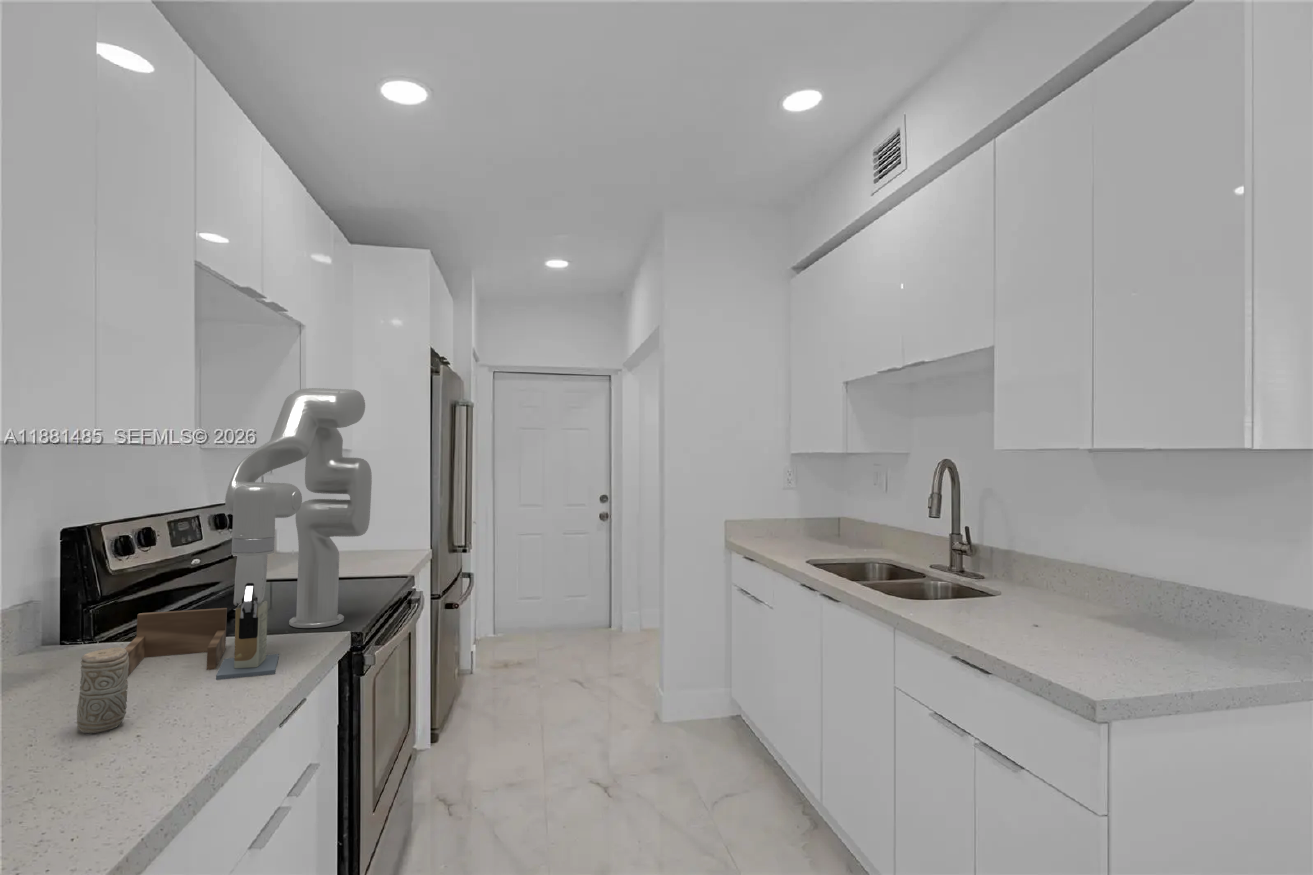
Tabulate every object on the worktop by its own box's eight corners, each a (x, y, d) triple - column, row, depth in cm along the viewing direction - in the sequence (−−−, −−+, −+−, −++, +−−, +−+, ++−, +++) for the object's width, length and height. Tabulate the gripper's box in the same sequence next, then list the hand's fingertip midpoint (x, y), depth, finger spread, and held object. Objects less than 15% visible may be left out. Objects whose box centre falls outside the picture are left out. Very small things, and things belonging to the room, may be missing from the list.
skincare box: (243, 659, 145) (245, 600, 146) (266, 658, 146) (268, 599, 147) (232, 669, 139) (234, 607, 139) (257, 668, 140) (258, 606, 140)
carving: (80, 740, 106) (83, 660, 107) (71, 726, 112) (74, 650, 112) (131, 728, 111) (134, 652, 111) (121, 716, 116) (124, 643, 117)
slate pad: (224, 662, 146) (224, 658, 146) (278, 657, 150) (278, 653, 150) (215, 679, 135) (216, 675, 135) (274, 674, 139) (275, 669, 139)
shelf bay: (137, 656, 149) (139, 613, 149) (225, 648, 156) (227, 607, 156) (117, 678, 135) (119, 631, 135) (215, 669, 141) (216, 624, 142)
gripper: (236, 541, 149) (233, 624, 149) (226, 552, 134) (223, 645, 133) (276, 540, 153) (274, 621, 152) (271, 551, 137) (268, 642, 136)
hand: (250, 632), depth 143 cm, fingers open, 7 cm apart
